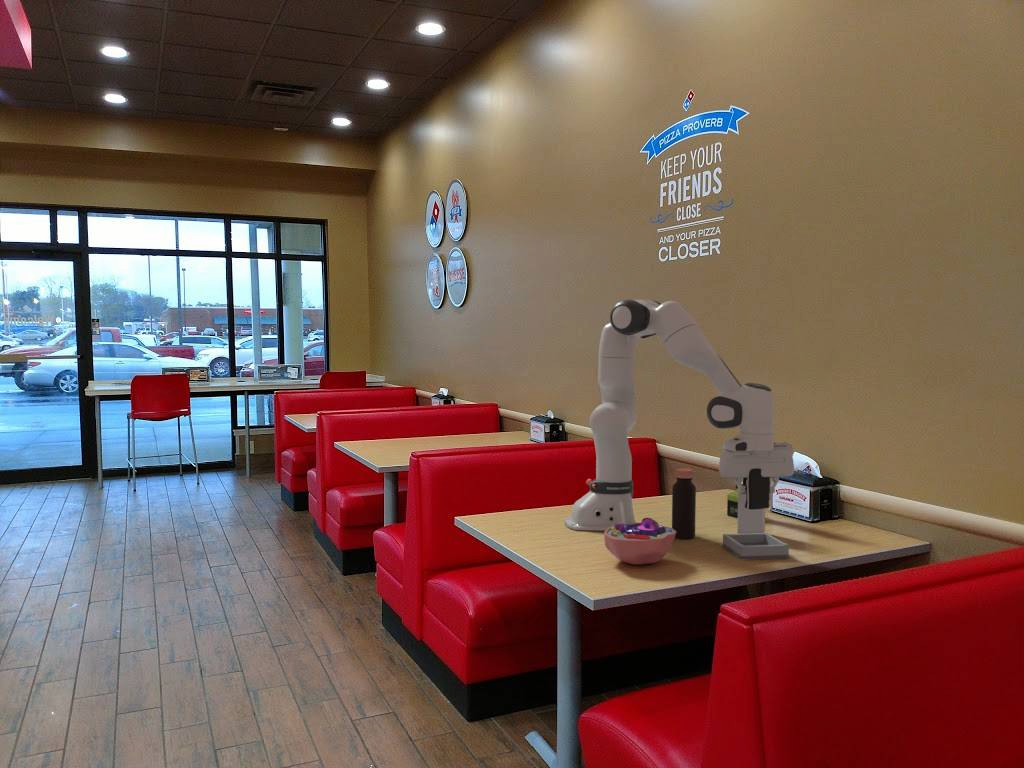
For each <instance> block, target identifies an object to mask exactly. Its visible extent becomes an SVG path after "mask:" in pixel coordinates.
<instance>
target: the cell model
mask: <svg viewBox="0 0 1024 768" xmlns="http://www.w3.org/2000/svg"><path fill="white" fill-rule="evenodd" d="M675 535H676V530H674V529H672V527H669V526H664V525H661V524H659V523H658V522H657V521H656V520H655V519H653V518H651V517H644V518H643V519H642V520H641V522H636V523H622V524H615V525H614V526H612V527H609V528H608V529H607V530H606V531H603V537H604V538H603V540H604V546H605V548H606V549H607V551H609V553H611V554H612V555H613V556H614V557H615V558H616V559H618V560H619V561H621V562H624V563H628V564H631V565H638V566H639V565H643V564H645V565H648V564H656V563H658V562H660V561H661V560H662V559H663V558H664V557H665V556H666V555H667V554H668V552H669V551H670V550H671V548H672V547H673V544H674V541H675V539H676V538H675Z"/></svg>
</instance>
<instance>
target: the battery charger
mask: <svg viewBox="0 0 1024 768" xmlns="http://www.w3.org/2000/svg"><path fill="white" fill-rule="evenodd" d="M770 484H771V477H762V475H761V469H759V468H755V469H750V470H749V472H748V477H747V478H743V486H746V503H745V508H747V509H749V510H755V509H764V508H765V509H769V508H770V494H771V493H770Z"/></svg>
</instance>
